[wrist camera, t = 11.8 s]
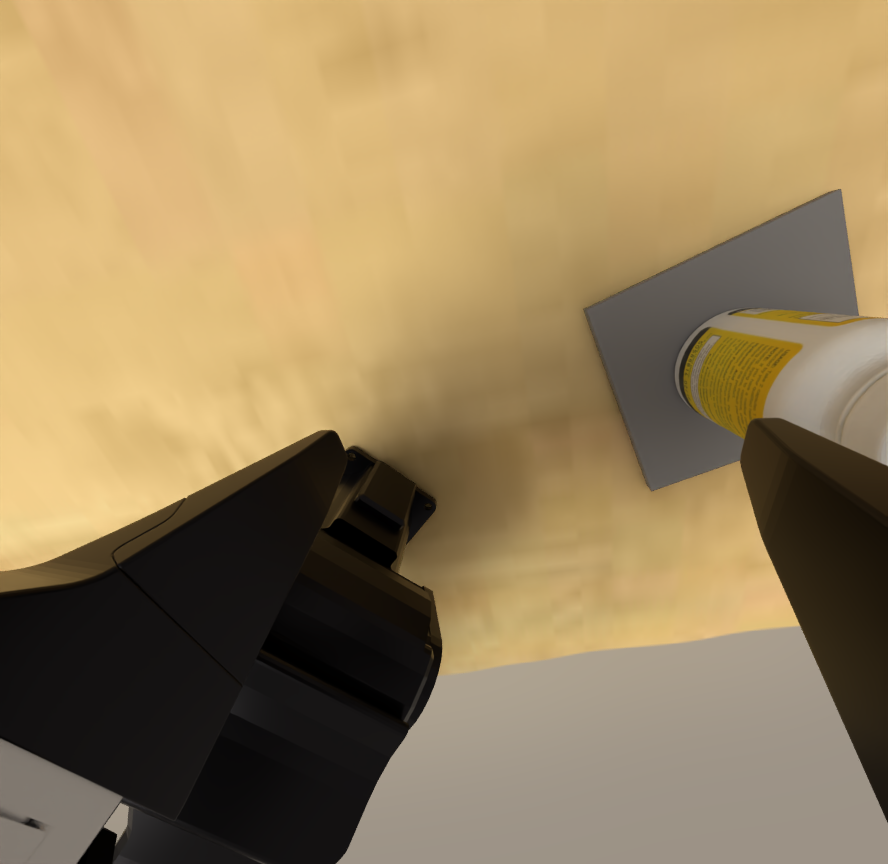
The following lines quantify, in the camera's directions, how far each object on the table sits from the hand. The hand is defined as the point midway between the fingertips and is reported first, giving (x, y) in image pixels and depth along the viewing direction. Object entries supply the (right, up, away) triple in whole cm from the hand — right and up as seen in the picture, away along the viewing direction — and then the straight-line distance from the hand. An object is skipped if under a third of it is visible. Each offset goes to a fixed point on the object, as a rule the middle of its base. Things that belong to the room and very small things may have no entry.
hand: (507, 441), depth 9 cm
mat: (+13, +4, +11) cm, 17 cm away
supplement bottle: (+13, +4, +10) cm, 17 cm away
